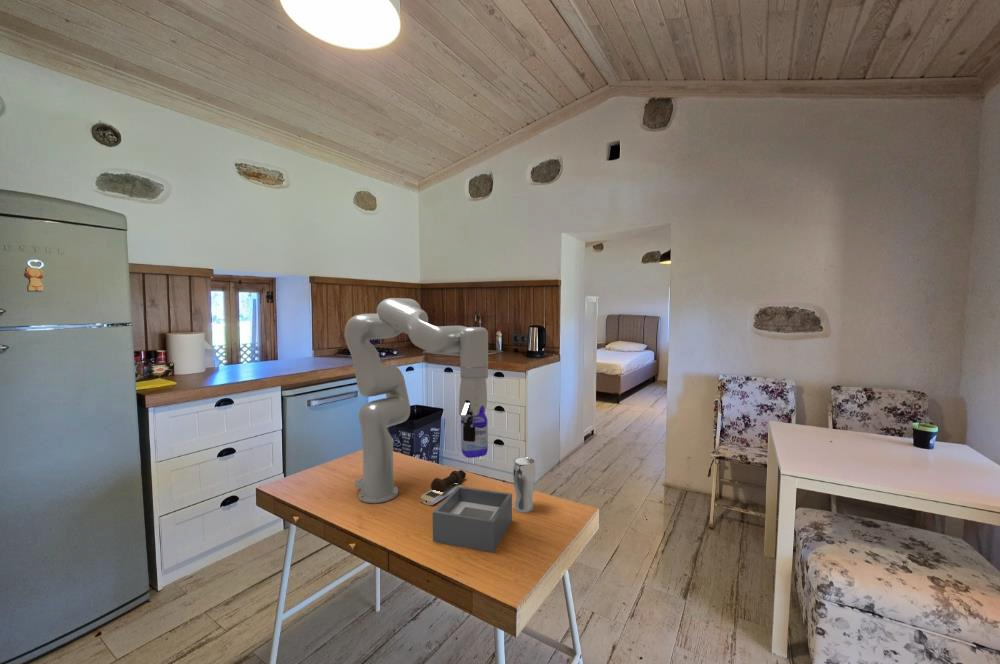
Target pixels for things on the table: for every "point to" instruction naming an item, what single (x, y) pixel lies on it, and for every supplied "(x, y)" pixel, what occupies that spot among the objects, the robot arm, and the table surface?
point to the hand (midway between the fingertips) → (474, 436)
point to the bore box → (473, 518)
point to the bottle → (476, 437)
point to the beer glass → (524, 483)
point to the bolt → (447, 481)
